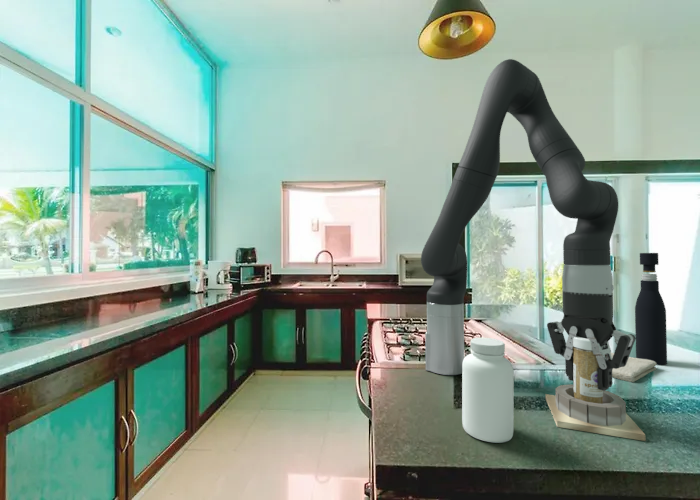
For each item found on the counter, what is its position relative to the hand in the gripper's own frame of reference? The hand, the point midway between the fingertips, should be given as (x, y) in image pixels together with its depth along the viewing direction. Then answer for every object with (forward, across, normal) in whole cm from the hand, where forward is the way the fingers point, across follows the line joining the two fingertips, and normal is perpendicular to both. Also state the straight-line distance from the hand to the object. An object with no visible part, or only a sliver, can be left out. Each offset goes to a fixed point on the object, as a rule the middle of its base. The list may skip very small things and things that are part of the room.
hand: (588, 384), depth 61 cm
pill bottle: (+6, -5, -20) cm, 22 cm away
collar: (+6, 0, 0) cm, 6 cm away
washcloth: (+7, -11, +35) cm, 37 cm away
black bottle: (+6, -10, +51) cm, 52 cm away
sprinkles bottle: (+5, 0, 0) cm, 5 cm away
